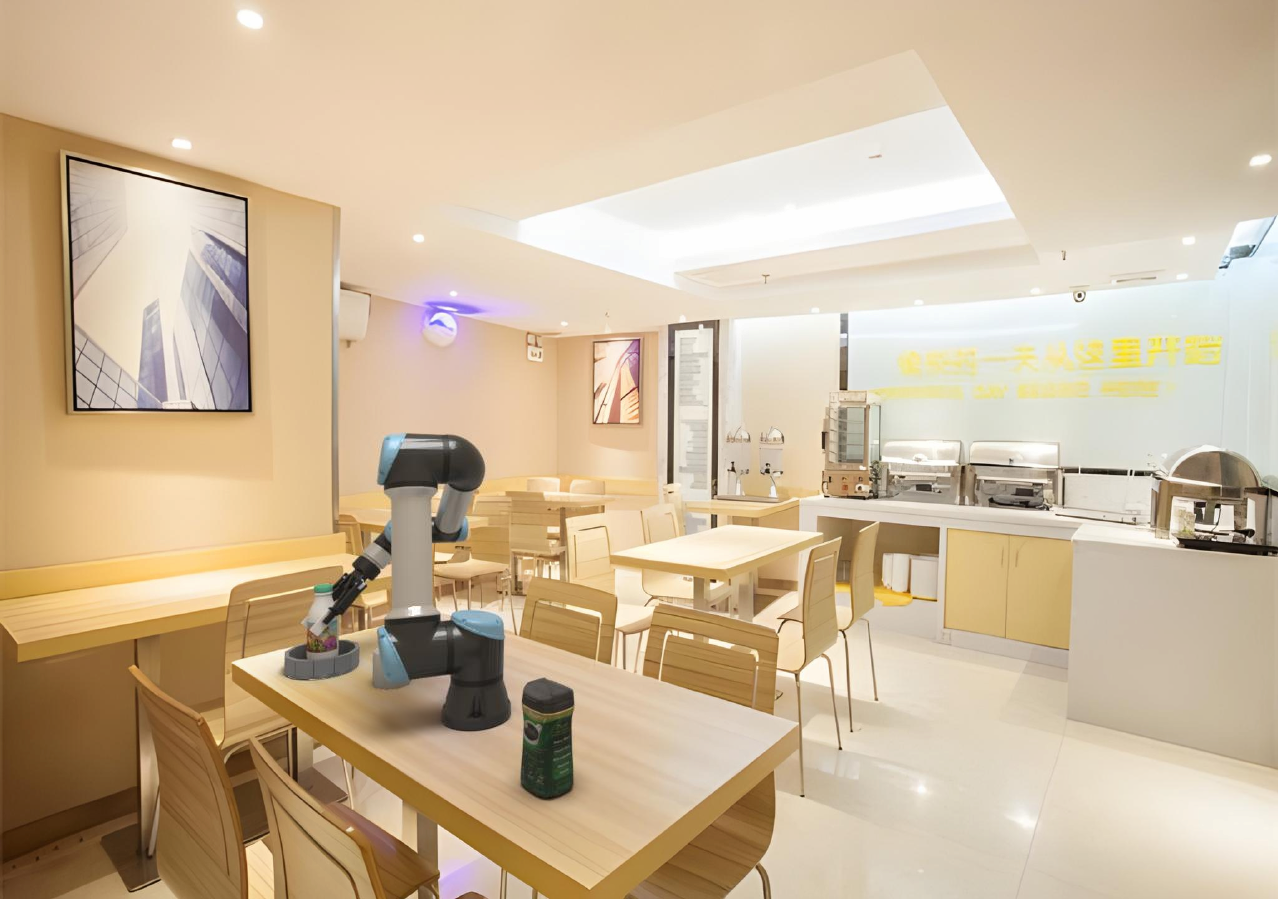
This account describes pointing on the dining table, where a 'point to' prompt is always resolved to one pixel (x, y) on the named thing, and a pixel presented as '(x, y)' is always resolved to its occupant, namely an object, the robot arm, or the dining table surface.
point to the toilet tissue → (379, 678)
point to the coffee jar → (547, 737)
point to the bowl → (321, 662)
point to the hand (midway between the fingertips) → (309, 629)
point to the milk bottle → (329, 637)
